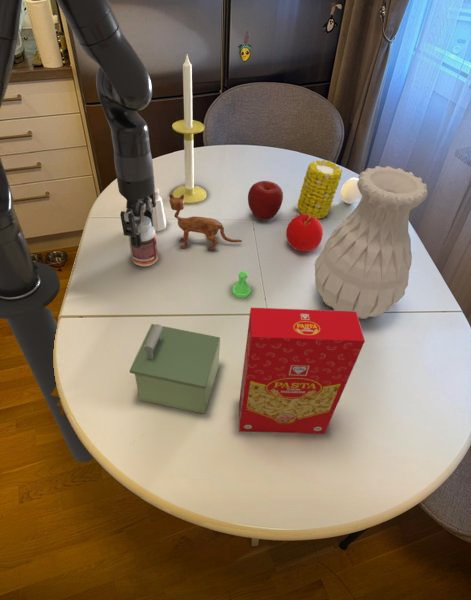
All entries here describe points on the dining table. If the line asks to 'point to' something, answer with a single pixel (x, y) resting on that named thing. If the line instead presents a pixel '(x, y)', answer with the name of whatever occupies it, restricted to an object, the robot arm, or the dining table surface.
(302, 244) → the fruit
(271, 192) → the apple
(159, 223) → the pepper shaker
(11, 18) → the robot arm
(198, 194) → the candle
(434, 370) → the dining table surface
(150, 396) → the bin
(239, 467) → the dining table surface
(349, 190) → the egg
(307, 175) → the food
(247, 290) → the game piece
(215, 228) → the cat figurine
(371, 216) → the vase
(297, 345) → the food packaging
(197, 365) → the bread bin lid
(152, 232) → the pill bottle
